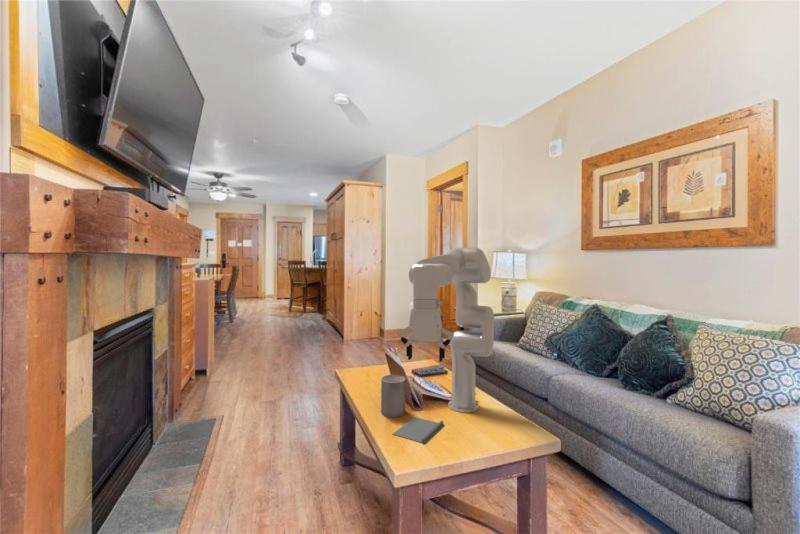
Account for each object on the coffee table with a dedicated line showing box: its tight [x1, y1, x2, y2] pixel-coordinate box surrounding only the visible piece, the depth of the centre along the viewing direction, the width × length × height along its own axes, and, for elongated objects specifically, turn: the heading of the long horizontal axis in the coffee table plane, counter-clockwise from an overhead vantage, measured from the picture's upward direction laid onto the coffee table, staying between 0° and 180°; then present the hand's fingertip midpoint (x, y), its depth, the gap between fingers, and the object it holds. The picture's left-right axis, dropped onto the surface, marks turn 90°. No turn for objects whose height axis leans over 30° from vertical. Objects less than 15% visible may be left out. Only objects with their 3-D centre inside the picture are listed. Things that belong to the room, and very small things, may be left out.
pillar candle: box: [380, 374, 406, 418], centre depth 141 cm, size 10×10×15 cm
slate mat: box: [392, 416, 445, 445], centre depth 126 cm, size 16×12×2 cm
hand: (425, 359), depth 109 cm, fingers open, 9 cm apart
